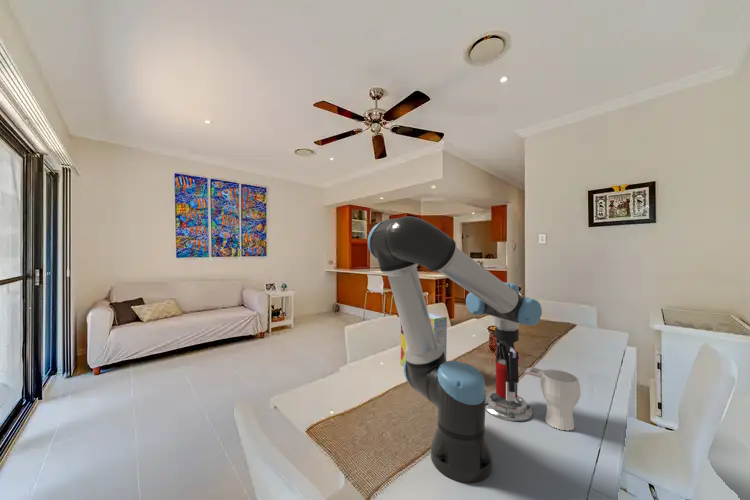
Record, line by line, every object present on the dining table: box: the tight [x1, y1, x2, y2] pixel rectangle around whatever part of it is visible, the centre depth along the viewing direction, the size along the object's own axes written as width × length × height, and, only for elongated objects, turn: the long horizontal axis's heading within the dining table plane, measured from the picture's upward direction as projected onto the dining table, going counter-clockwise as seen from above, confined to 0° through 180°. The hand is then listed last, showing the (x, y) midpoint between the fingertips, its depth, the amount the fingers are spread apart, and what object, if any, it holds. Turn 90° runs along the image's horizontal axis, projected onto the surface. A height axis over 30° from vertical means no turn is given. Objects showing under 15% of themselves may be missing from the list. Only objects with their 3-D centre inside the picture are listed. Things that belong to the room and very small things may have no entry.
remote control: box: [523, 366, 546, 379], centre depth 127 cm, size 7×16×3 cm, turn 48°
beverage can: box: [495, 359, 518, 399], centre depth 100 cm, size 7×7×12 cm
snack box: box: [400, 312, 448, 367], centre depth 131 cm, size 22×9×26 cm, turn 36°
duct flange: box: [485, 390, 534, 423], centre depth 100 cm, size 16×16×3 cm
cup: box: [539, 369, 581, 432], centre depth 91 cm, size 11×11×15 cm
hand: (506, 394), depth 100 cm, fingers closed on beverage can, 7 cm apart
